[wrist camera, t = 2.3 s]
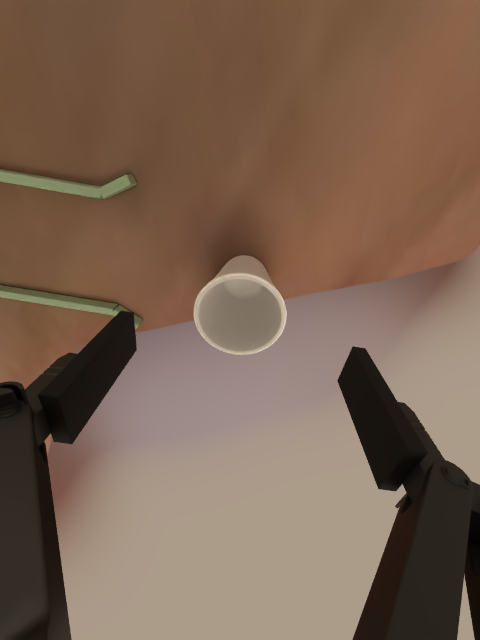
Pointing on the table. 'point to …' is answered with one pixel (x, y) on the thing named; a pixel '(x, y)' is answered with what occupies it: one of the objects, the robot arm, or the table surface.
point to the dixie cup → (240, 308)
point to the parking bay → (77, 189)
